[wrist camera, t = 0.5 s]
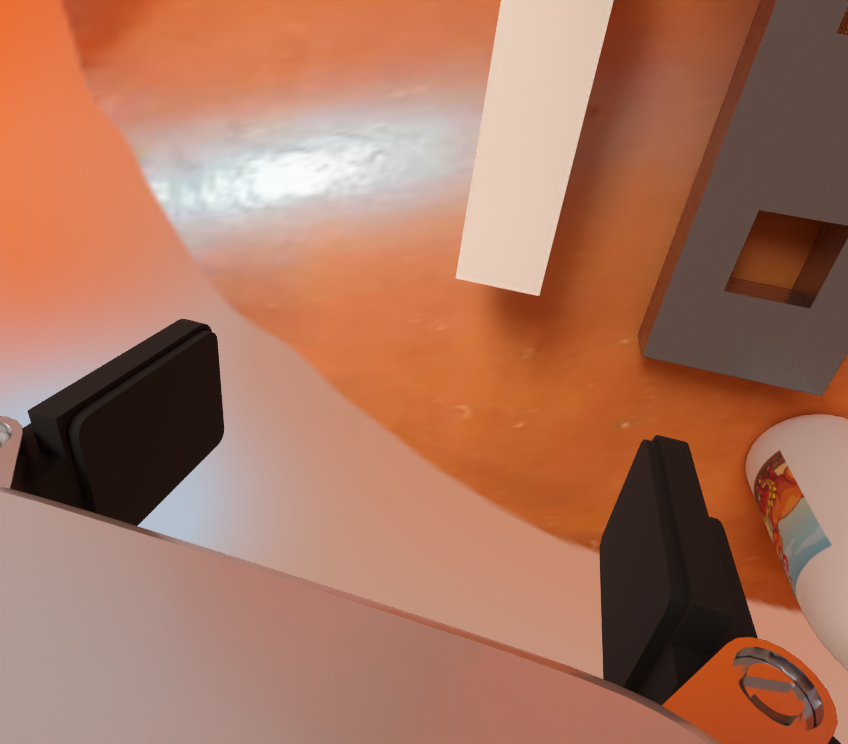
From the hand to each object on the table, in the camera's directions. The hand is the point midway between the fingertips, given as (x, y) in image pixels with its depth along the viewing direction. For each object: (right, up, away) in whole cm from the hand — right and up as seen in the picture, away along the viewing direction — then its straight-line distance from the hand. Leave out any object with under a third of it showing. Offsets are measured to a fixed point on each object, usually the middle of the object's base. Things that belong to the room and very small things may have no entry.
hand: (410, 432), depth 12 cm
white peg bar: (+7, +17, +18) cm, 26 cm away
